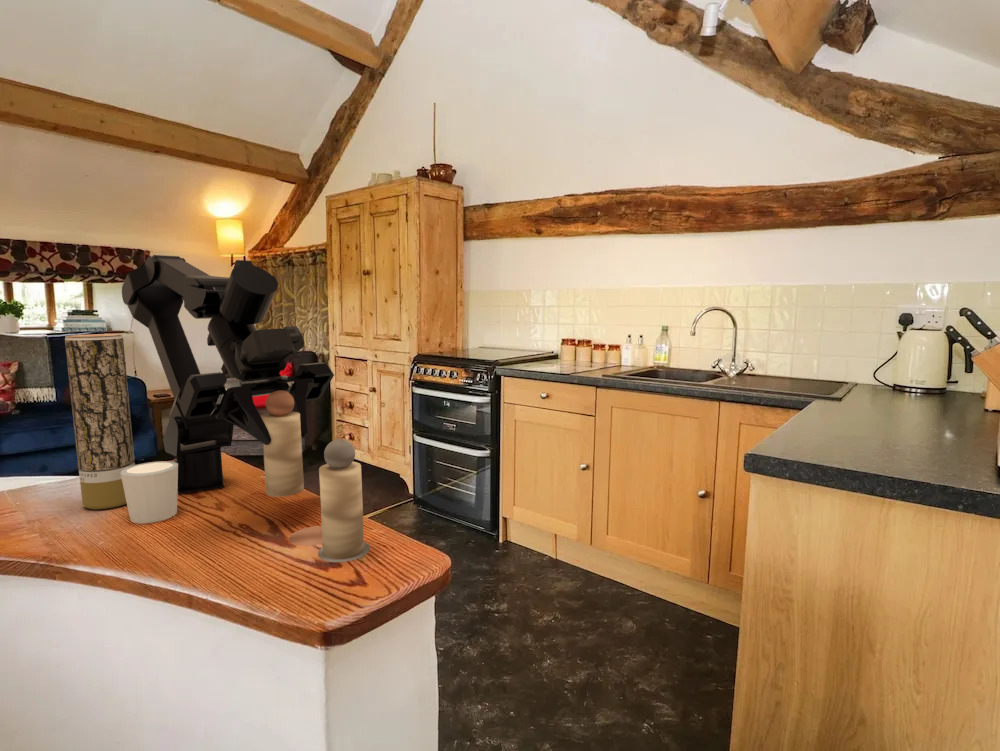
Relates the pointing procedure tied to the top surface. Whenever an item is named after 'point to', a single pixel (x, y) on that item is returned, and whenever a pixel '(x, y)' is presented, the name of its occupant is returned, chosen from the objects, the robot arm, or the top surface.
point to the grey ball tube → (341, 502)
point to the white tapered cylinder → (151, 491)
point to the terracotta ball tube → (283, 446)
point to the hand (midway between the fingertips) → (287, 439)
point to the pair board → (318, 542)
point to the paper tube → (100, 416)
